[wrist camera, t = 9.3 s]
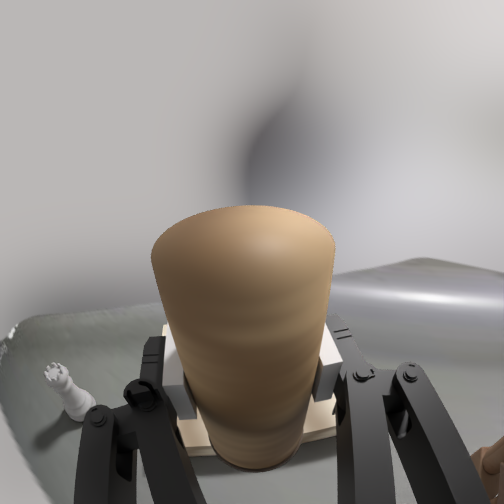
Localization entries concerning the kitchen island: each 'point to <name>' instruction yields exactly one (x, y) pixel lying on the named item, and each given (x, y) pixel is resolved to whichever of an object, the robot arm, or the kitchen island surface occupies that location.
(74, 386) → the rook chess piece
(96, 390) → the kitchen island surface
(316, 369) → the robot arm
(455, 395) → the kitchen island surface
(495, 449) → the wooden post with wedge
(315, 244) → the oak leg
